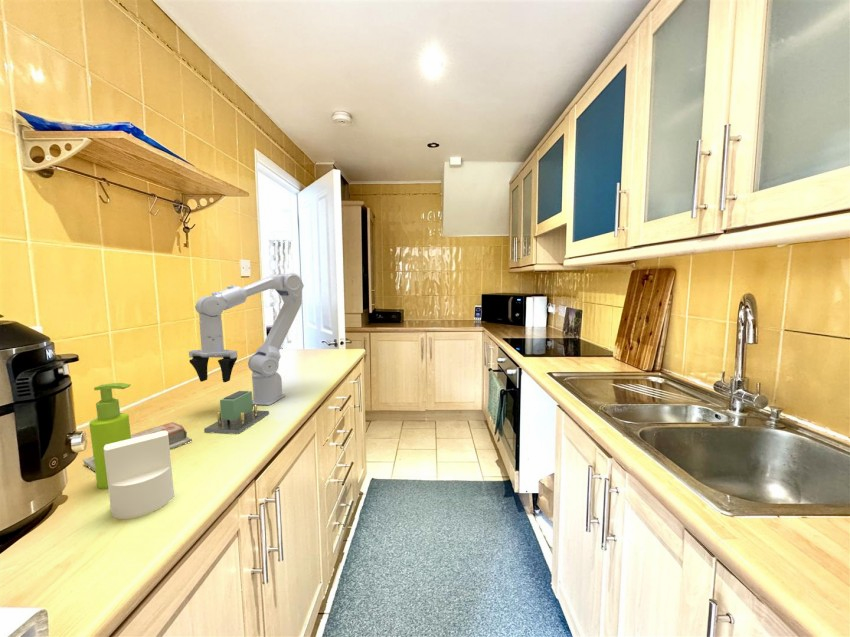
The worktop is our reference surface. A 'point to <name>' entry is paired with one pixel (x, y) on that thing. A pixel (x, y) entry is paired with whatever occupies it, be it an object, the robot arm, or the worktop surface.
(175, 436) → the packaged product
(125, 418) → the soap dispenser
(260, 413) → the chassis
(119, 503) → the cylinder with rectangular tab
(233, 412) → the block
